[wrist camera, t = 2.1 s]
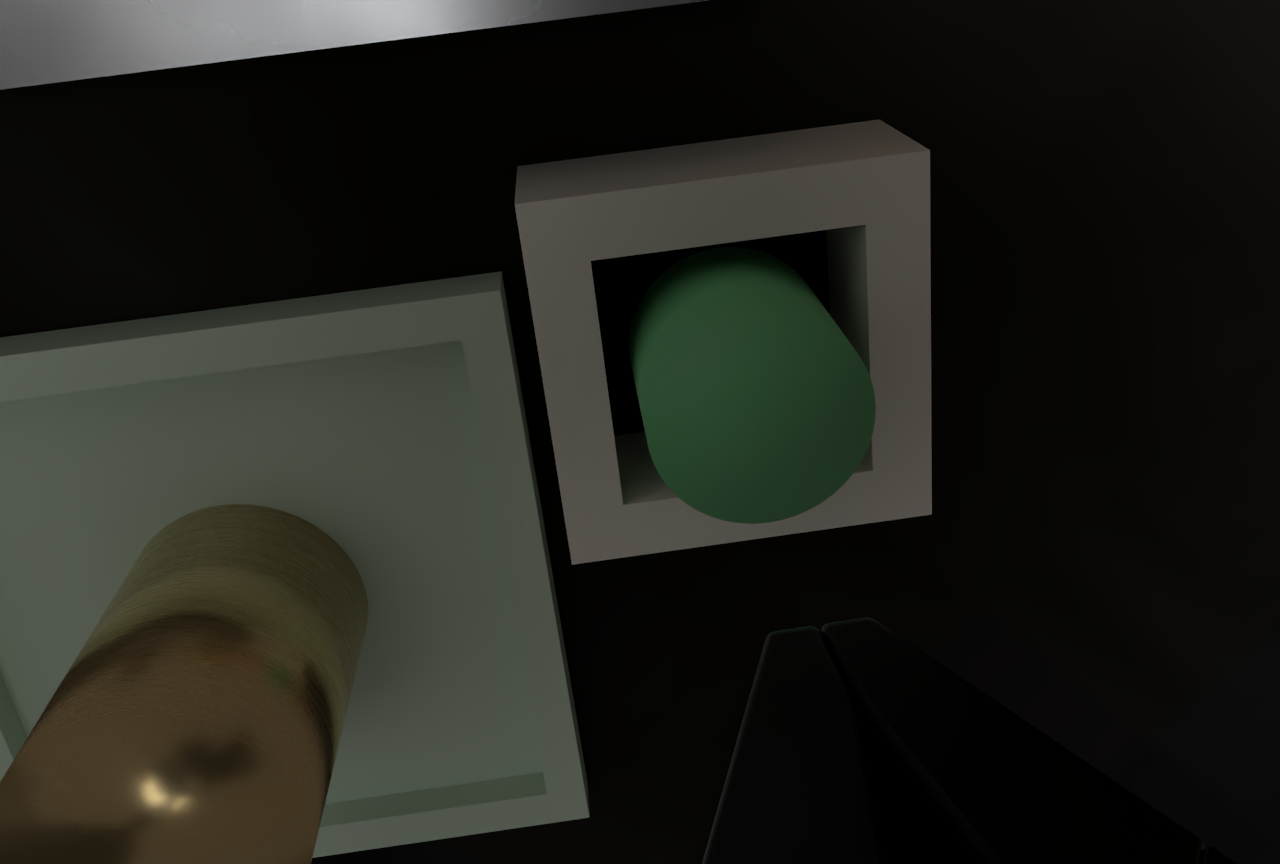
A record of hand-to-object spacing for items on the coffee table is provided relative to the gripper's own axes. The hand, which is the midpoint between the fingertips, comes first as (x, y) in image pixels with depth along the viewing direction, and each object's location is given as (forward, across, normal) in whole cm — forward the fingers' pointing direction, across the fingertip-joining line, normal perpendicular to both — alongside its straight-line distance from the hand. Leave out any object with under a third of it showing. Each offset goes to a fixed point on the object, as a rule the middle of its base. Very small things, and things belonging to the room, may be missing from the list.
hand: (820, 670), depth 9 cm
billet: (+10, +8, +4) cm, 13 cm away
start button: (+9, -1, +1) cm, 9 cm away
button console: (+10, 0, +1) cm, 10 cm away
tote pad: (+10, +8, +4) cm, 14 cm away
